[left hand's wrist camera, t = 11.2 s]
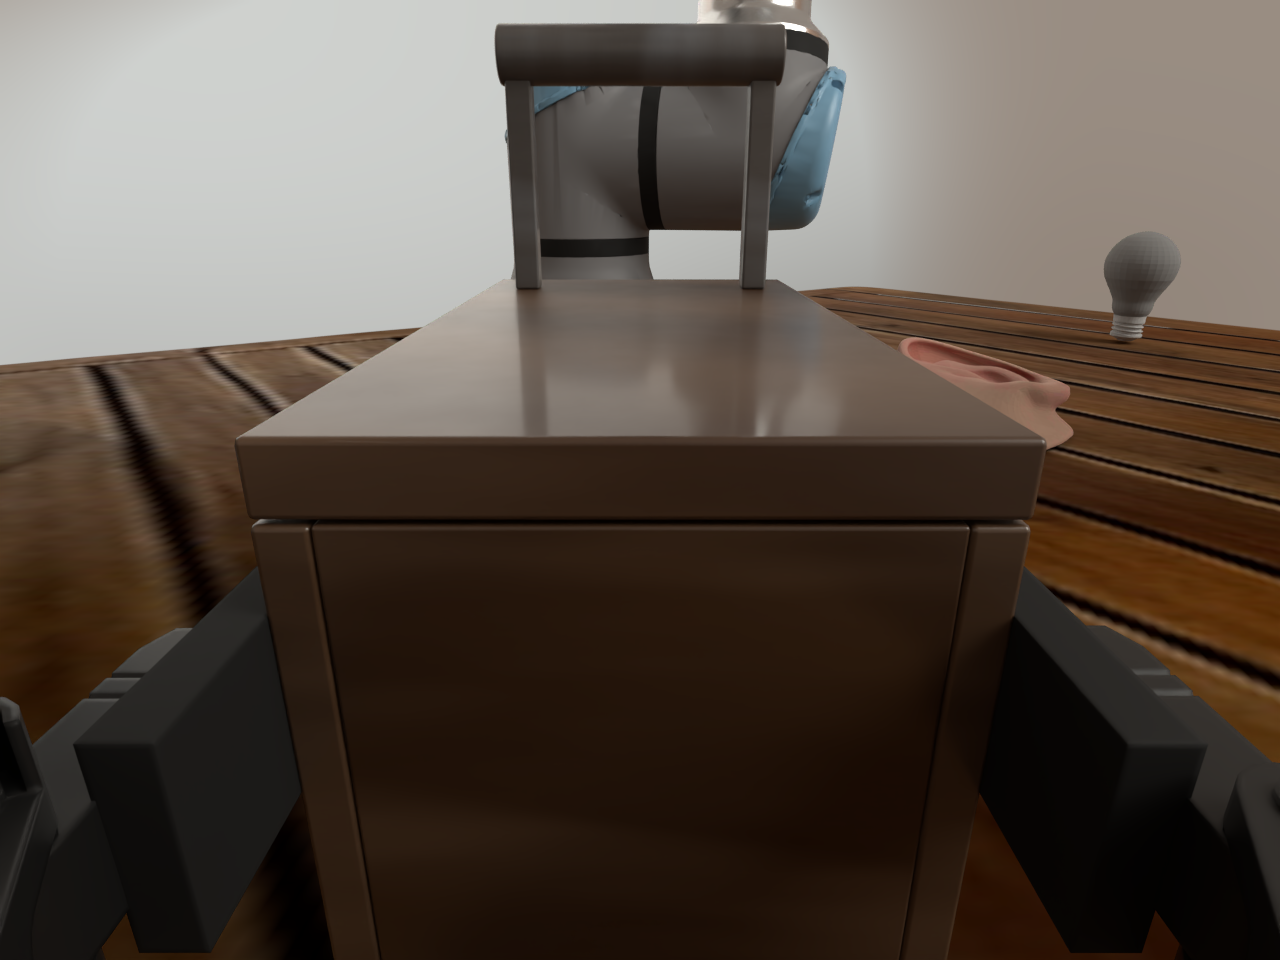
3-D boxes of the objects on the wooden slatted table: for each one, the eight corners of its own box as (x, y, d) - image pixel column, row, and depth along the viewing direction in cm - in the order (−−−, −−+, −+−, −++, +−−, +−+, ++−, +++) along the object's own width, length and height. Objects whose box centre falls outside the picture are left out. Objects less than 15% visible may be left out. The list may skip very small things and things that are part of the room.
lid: (503, 310, 25) (487, 43, 23) (777, 311, 25) (794, 43, 23) (245, 522, 9) (68, -382, 6) (1035, 523, 9) (1213, -381, 6)
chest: (517, 575, 28) (501, 313, 25) (762, 575, 28) (779, 314, 25) (354, 1077, 12) (246, 526, 9) (925, 1078, 12) (1034, 526, 9)
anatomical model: (1095, 389, 38) (860, 369, 43) (1079, 464, 39) (854, 436, 44) (1077, 345, 49) (893, 332, 54) (1065, 405, 51) (887, 388, 55)
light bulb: (1104, 345, 71) (1128, 232, 68) (1079, 334, 77) (1100, 230, 73) (1173, 346, 70) (1201, 233, 67) (1143, 335, 76) (1168, 230, 72)
